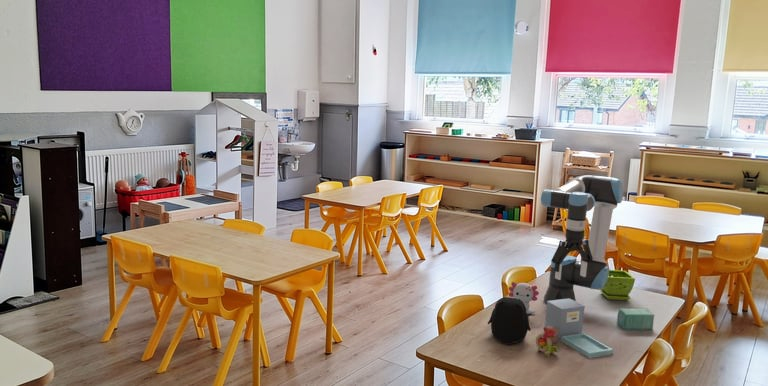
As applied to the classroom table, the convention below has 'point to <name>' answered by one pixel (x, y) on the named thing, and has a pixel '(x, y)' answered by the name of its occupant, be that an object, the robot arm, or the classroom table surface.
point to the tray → (587, 345)
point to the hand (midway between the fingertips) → (570, 277)
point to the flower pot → (618, 285)
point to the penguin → (509, 320)
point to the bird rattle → (546, 341)
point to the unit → (565, 316)
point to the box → (635, 319)
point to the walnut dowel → (554, 340)
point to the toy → (524, 294)
